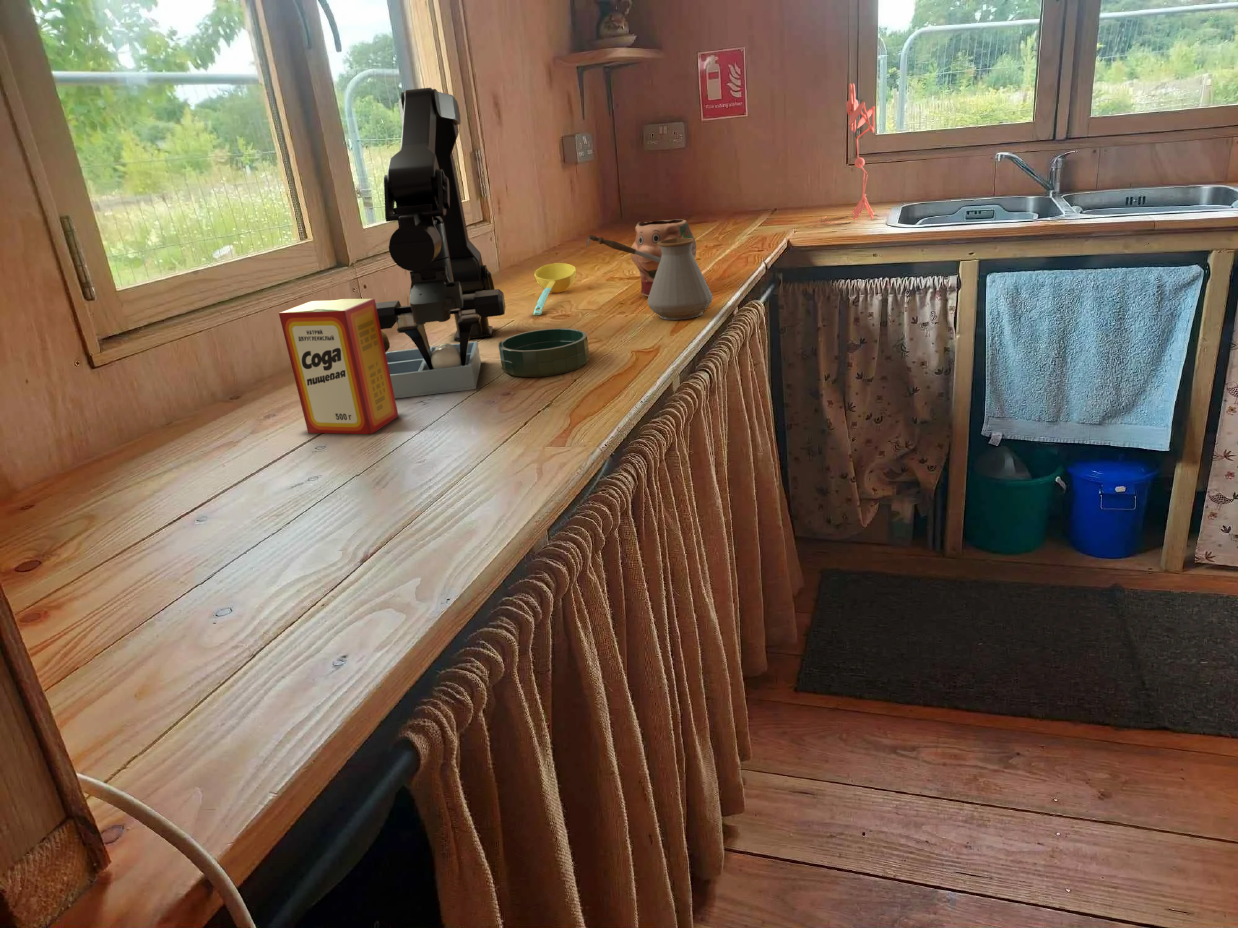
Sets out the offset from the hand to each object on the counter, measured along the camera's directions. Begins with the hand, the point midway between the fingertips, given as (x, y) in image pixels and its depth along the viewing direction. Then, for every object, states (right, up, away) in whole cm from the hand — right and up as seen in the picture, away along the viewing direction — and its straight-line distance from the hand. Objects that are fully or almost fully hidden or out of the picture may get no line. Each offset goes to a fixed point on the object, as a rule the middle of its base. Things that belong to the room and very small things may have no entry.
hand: (447, 368), depth 126 cm
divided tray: (-3, -1, +4) cm, 6 cm away
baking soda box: (-10, -9, -12) cm, 18 cm away
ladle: (+11, +19, +51) cm, 56 cm away
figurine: (+89, +55, +119) cm, 158 cm away
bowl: (+14, +1, +6) cm, 15 cm away
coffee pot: (+31, +12, +29) cm, 44 cm away
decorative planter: (+35, +20, +48) cm, 63 cm away
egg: (0, -1, 0) cm, 1 cm away
